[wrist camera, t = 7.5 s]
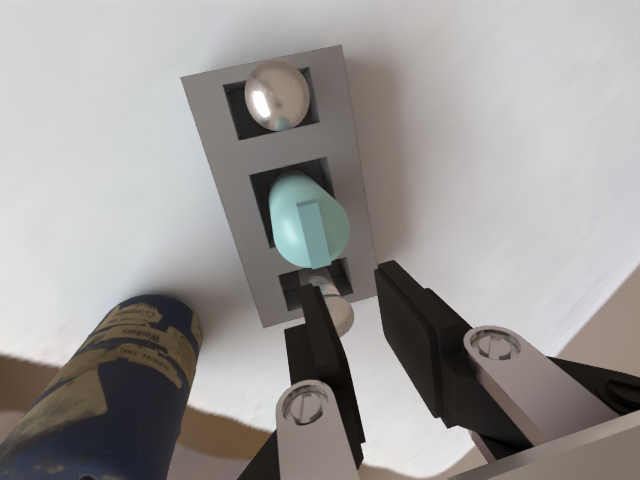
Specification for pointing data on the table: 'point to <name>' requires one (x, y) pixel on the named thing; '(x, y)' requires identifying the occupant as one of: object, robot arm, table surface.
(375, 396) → the table surface
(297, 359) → the robot arm
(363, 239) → the housing
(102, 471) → the canister
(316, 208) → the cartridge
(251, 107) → the plunger
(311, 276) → the plunger
